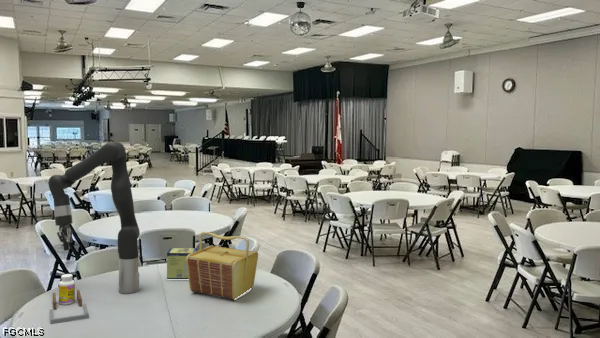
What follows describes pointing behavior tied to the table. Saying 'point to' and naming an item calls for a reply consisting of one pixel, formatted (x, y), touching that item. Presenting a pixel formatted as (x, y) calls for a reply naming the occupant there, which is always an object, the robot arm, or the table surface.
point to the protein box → (178, 262)
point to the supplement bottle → (66, 289)
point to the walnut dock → (77, 300)
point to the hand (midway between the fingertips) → (66, 250)
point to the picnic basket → (221, 269)
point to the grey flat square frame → (69, 316)
